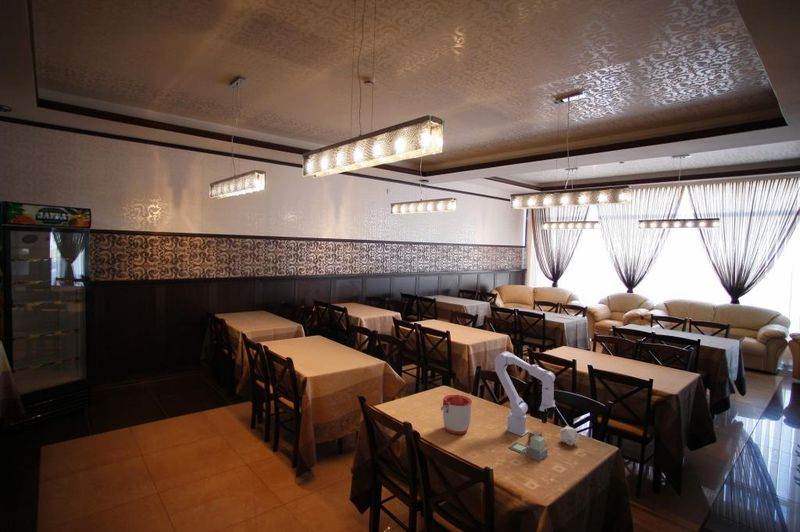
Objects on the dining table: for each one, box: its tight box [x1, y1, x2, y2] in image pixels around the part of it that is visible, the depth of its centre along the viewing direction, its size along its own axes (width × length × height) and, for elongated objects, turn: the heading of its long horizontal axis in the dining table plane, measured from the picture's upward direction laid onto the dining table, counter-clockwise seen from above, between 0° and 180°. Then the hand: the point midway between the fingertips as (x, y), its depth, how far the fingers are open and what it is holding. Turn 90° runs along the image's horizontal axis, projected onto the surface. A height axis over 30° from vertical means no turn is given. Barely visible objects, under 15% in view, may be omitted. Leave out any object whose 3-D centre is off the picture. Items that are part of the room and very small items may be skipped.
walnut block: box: [527, 428, 543, 443], centre depth 205 cm, size 5×5×5 cm
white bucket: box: [440, 394, 473, 435], centre depth 214 cm, size 16×17×20 cm
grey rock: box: [559, 425, 580, 446], centre depth 205 cm, size 8×9×10 cm
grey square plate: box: [508, 441, 528, 455], centre depth 197 cm, size 8×8×1 cm
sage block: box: [529, 435, 546, 451], centre depth 191 cm, size 5×5×5 cm
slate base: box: [525, 445, 548, 462], centre depth 191 cm, size 7×7×4 cm
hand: (547, 420), depth 207 cm, fingers open, 7 cm apart
